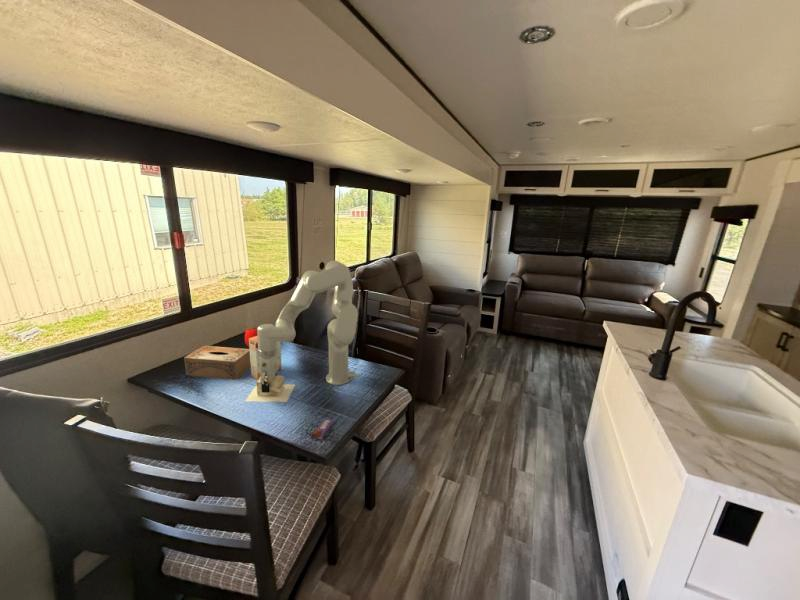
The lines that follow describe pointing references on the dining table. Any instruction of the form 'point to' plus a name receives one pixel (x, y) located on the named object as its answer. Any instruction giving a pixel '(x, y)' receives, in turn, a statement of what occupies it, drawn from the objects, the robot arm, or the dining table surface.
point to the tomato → (250, 334)
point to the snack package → (323, 428)
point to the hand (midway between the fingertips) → (269, 386)
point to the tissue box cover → (218, 362)
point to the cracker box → (256, 359)
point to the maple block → (272, 386)
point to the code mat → (282, 398)
